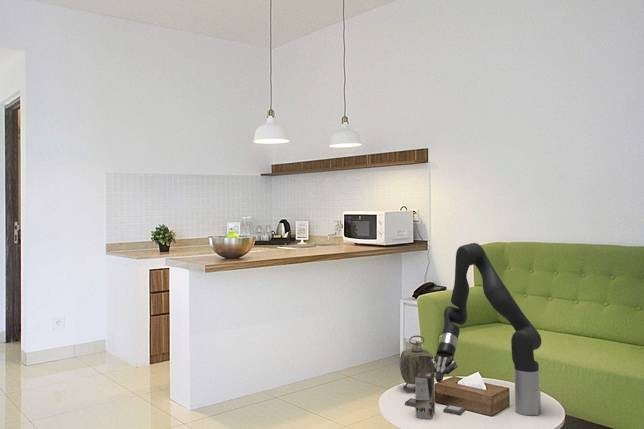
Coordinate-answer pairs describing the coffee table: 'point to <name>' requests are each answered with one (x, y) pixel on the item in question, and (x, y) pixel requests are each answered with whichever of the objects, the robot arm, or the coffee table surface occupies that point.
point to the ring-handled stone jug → (414, 362)
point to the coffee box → (425, 395)
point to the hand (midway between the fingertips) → (438, 381)
